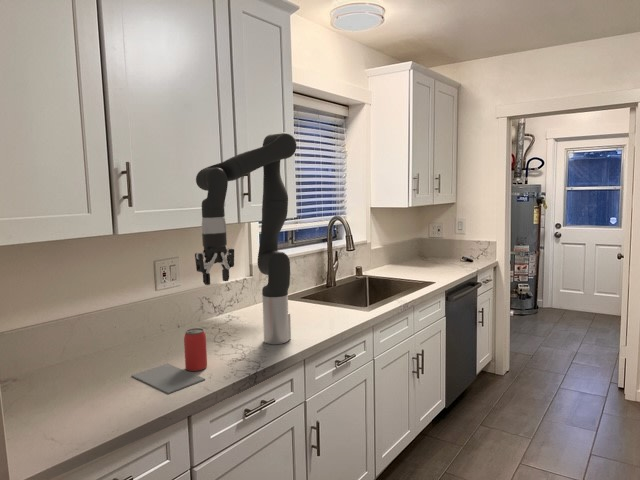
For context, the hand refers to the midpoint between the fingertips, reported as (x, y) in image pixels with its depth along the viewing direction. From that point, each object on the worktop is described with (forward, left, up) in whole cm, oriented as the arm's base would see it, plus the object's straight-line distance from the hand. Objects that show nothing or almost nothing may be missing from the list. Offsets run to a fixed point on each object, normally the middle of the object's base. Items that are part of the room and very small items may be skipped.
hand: (216, 282), depth 148 cm
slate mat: (+19, 0, -26) cm, 32 cm away
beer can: (+9, 0, -26) cm, 27 cm away
